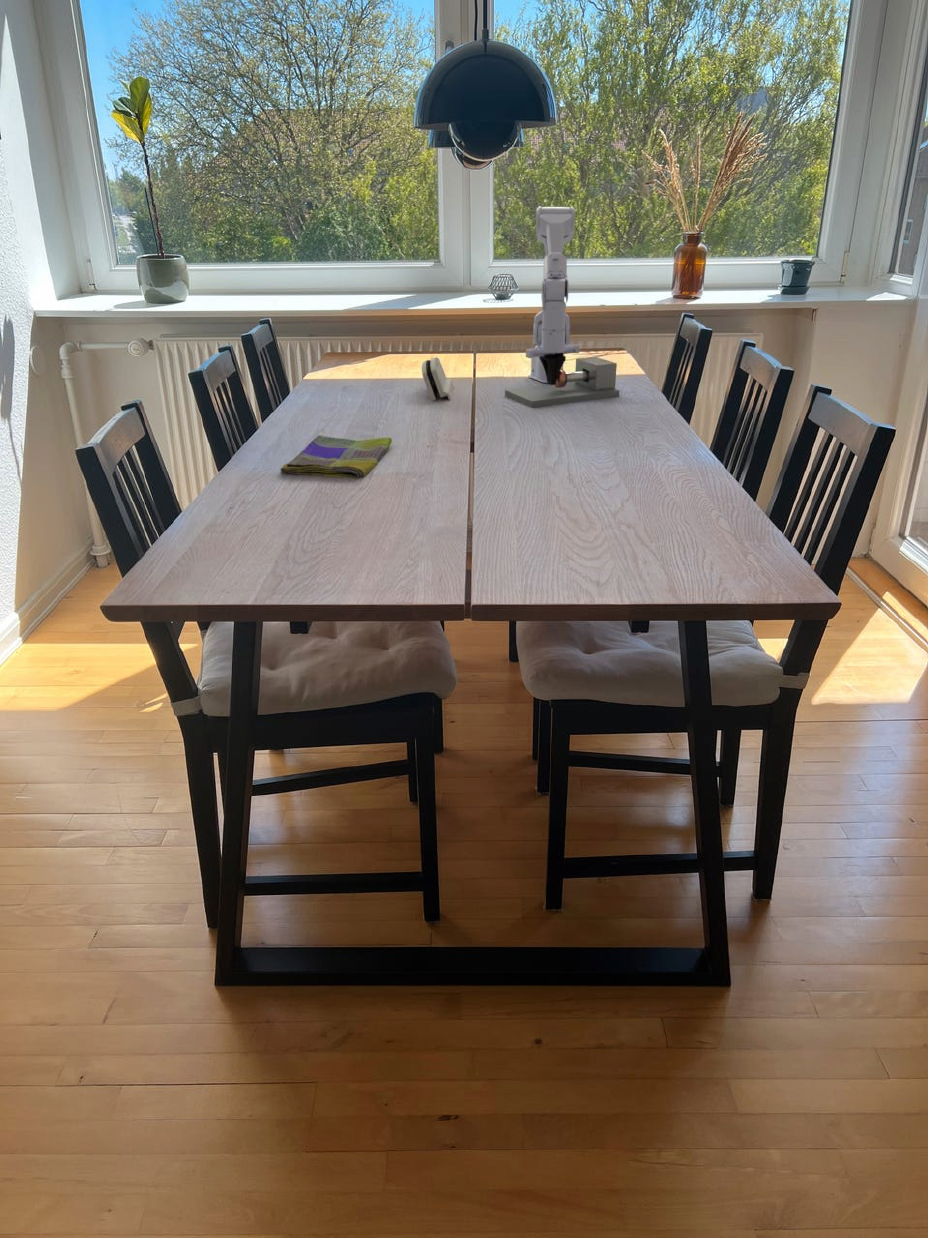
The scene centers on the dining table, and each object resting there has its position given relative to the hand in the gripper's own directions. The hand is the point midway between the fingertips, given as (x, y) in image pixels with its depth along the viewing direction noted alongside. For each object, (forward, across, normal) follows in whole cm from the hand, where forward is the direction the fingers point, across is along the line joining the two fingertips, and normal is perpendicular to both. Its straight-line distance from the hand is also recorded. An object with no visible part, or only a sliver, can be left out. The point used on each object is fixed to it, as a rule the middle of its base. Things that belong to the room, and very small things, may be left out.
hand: (551, 383), depth 239 cm
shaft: (+1, +9, 0) cm, 9 cm away
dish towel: (+4, -67, -27) cm, 72 cm away
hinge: (+4, -24, +18) cm, 30 cm away
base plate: (+3, +3, 0) cm, 5 cm away
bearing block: (+2, +13, 0) cm, 13 cm away
